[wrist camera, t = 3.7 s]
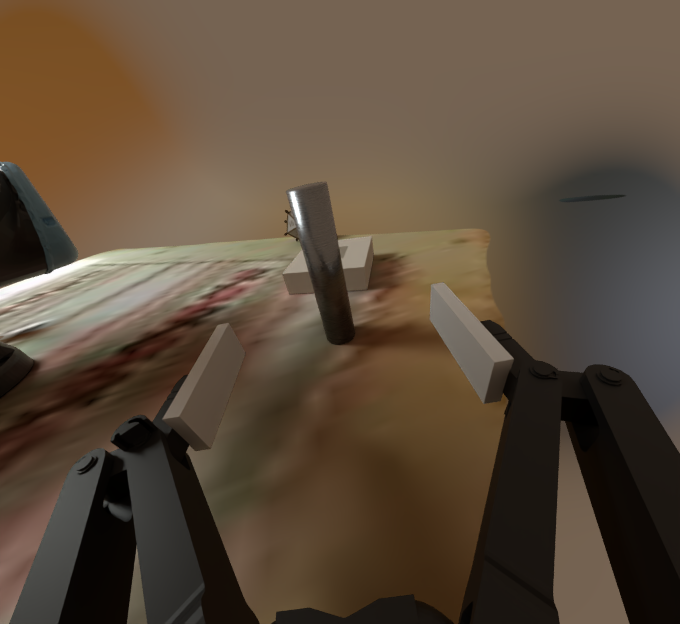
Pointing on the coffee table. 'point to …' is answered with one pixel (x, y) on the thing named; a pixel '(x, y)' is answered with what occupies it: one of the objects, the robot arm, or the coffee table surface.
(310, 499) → the coffee table surface
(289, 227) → the game die
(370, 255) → the socket block
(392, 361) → the coffee table surface
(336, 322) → the pin
